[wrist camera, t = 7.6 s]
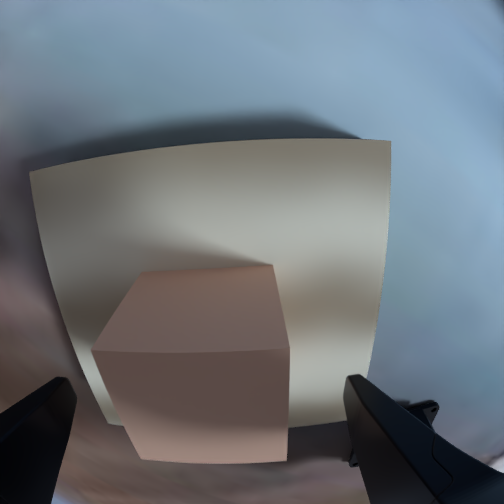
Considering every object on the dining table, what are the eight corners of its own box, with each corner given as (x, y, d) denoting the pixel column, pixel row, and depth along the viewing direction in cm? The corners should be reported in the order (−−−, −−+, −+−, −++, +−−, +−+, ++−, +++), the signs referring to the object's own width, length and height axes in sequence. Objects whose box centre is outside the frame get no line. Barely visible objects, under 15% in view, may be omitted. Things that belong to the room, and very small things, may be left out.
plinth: (344, 383, 18) (356, 418, 15) (121, 390, 18) (108, 423, 15) (362, 138, 13) (390, 140, 10) (64, 163, 13) (28, 172, 10)
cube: (275, 368, 14) (286, 460, 9) (165, 371, 14) (141, 458, 9) (272, 264, 12) (290, 347, 7) (141, 271, 12) (90, 350, 7)
